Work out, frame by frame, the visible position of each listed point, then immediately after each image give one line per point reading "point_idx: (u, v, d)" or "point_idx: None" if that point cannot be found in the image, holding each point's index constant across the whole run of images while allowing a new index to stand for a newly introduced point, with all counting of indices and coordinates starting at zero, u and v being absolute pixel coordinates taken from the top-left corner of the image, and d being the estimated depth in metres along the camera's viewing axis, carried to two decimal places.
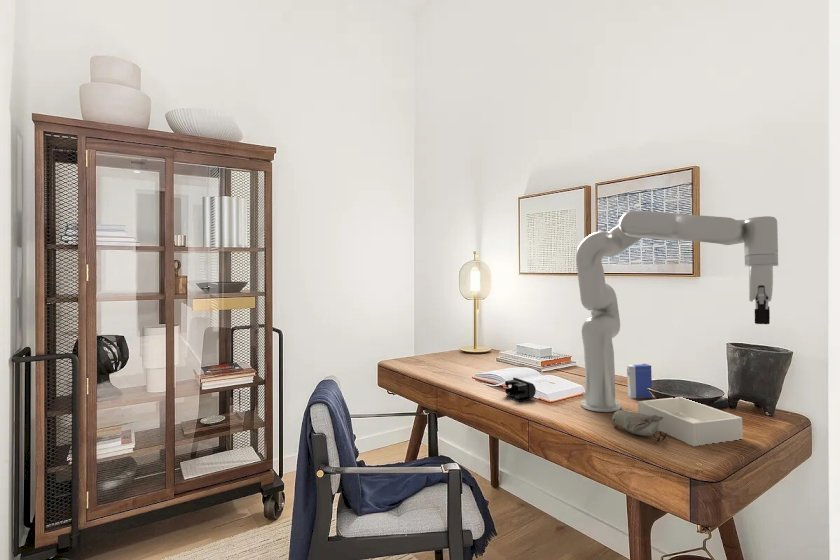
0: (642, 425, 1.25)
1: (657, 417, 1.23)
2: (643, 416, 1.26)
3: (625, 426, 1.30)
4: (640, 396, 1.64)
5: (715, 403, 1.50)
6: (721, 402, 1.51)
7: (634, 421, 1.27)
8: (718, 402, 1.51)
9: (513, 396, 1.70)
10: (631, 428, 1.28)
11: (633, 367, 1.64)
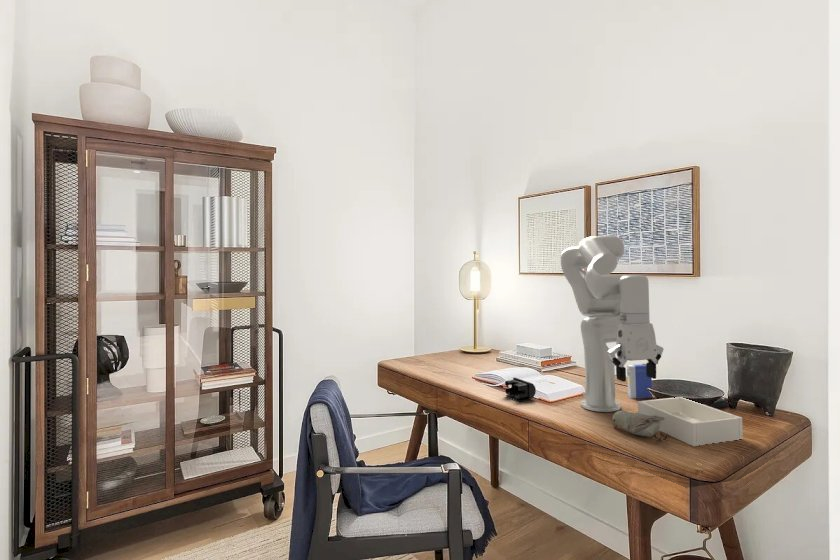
0: (643, 425, 1.25)
1: (658, 417, 1.23)
2: (644, 416, 1.26)
3: (625, 427, 1.30)
4: (640, 396, 1.64)
5: (715, 403, 1.50)
6: (721, 402, 1.51)
7: (635, 422, 1.27)
8: (718, 402, 1.51)
9: (513, 396, 1.70)
10: (632, 429, 1.27)
11: (633, 367, 1.64)
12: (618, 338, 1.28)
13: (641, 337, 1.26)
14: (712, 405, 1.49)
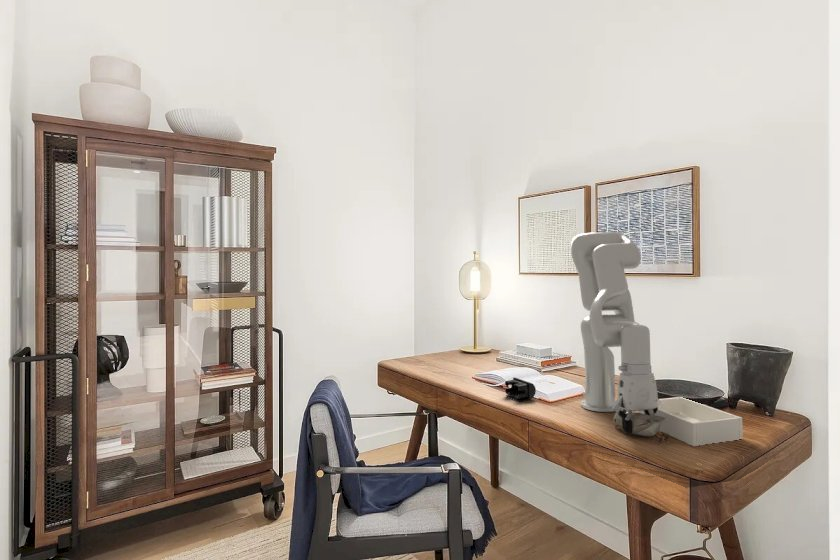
0: (644, 425, 1.24)
1: (659, 417, 1.22)
2: (645, 416, 1.26)
3: None
4: None
5: (715, 403, 1.50)
6: (721, 402, 1.51)
7: (636, 421, 1.26)
8: (718, 402, 1.51)
9: (513, 396, 1.70)
10: (633, 428, 1.27)
11: None
12: (619, 388, 1.28)
13: (642, 388, 1.26)
14: (712, 405, 1.50)
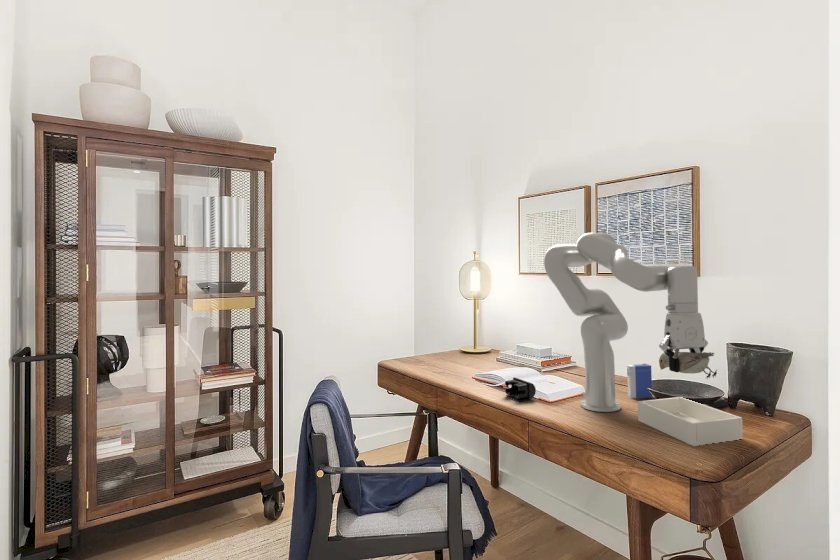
0: (692, 362, 1.27)
1: (707, 353, 1.25)
2: (692, 354, 1.28)
3: None
4: (640, 396, 1.64)
5: (716, 403, 1.50)
6: (721, 401, 1.52)
7: (683, 359, 1.29)
8: (718, 402, 1.51)
9: (513, 396, 1.70)
10: (680, 366, 1.30)
11: (633, 367, 1.64)
12: (666, 327, 1.31)
13: (690, 326, 1.29)
14: (713, 405, 1.50)
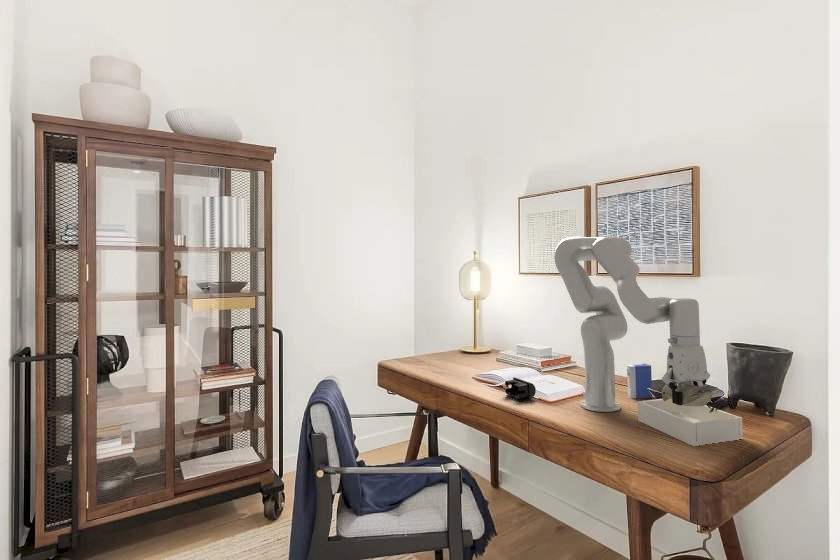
0: (695, 396, 1.27)
1: (710, 387, 1.25)
2: (695, 387, 1.28)
3: None
4: (640, 396, 1.64)
5: (716, 403, 1.50)
6: (721, 401, 1.52)
7: (686, 392, 1.29)
8: (718, 401, 1.51)
9: (513, 396, 1.70)
10: (683, 399, 1.30)
11: (633, 367, 1.64)
12: (669, 360, 1.31)
13: (692, 360, 1.29)
14: (713, 405, 1.50)
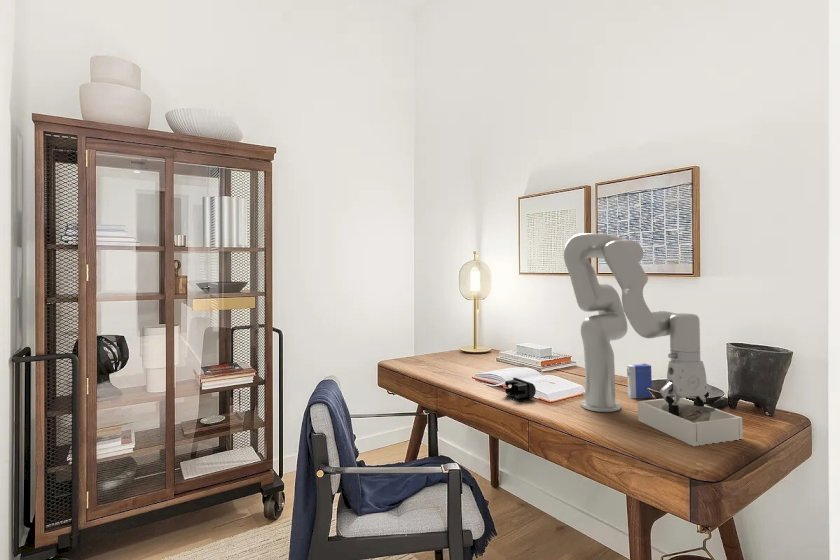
0: (694, 416, 1.27)
1: (709, 408, 1.25)
2: (694, 407, 1.29)
3: None
4: (640, 396, 1.64)
5: (716, 402, 1.51)
6: (721, 401, 1.52)
7: (685, 412, 1.30)
8: (718, 401, 1.51)
9: (513, 396, 1.70)
10: None
11: (633, 367, 1.64)
12: (669, 375, 1.31)
13: (692, 375, 1.29)
14: (713, 405, 1.50)
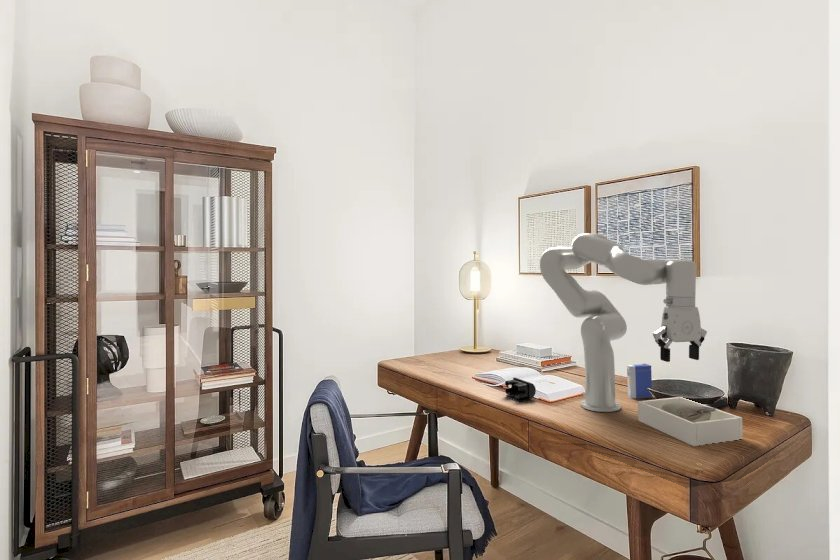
0: (694, 416, 1.27)
1: (709, 408, 1.25)
2: (694, 407, 1.28)
3: None
4: (640, 396, 1.64)
5: (716, 402, 1.51)
6: (721, 401, 1.52)
7: (685, 412, 1.29)
8: (718, 401, 1.51)
9: (513, 396, 1.70)
10: None
11: (633, 367, 1.64)
12: (663, 320, 1.33)
13: (686, 320, 1.31)
14: (713, 404, 1.50)
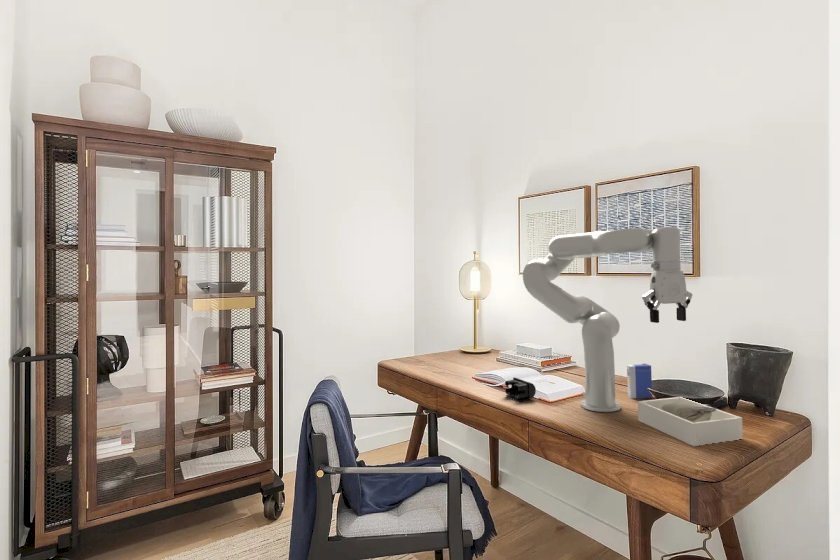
0: (694, 416, 1.27)
1: (710, 408, 1.25)
2: (695, 407, 1.28)
3: None
4: (640, 396, 1.64)
5: (716, 402, 1.51)
6: (720, 401, 1.52)
7: (686, 412, 1.29)
8: (718, 401, 1.52)
9: (513, 396, 1.70)
10: None
11: (633, 367, 1.64)
12: (652, 284, 1.42)
13: (673, 283, 1.39)
14: (714, 404, 1.50)
